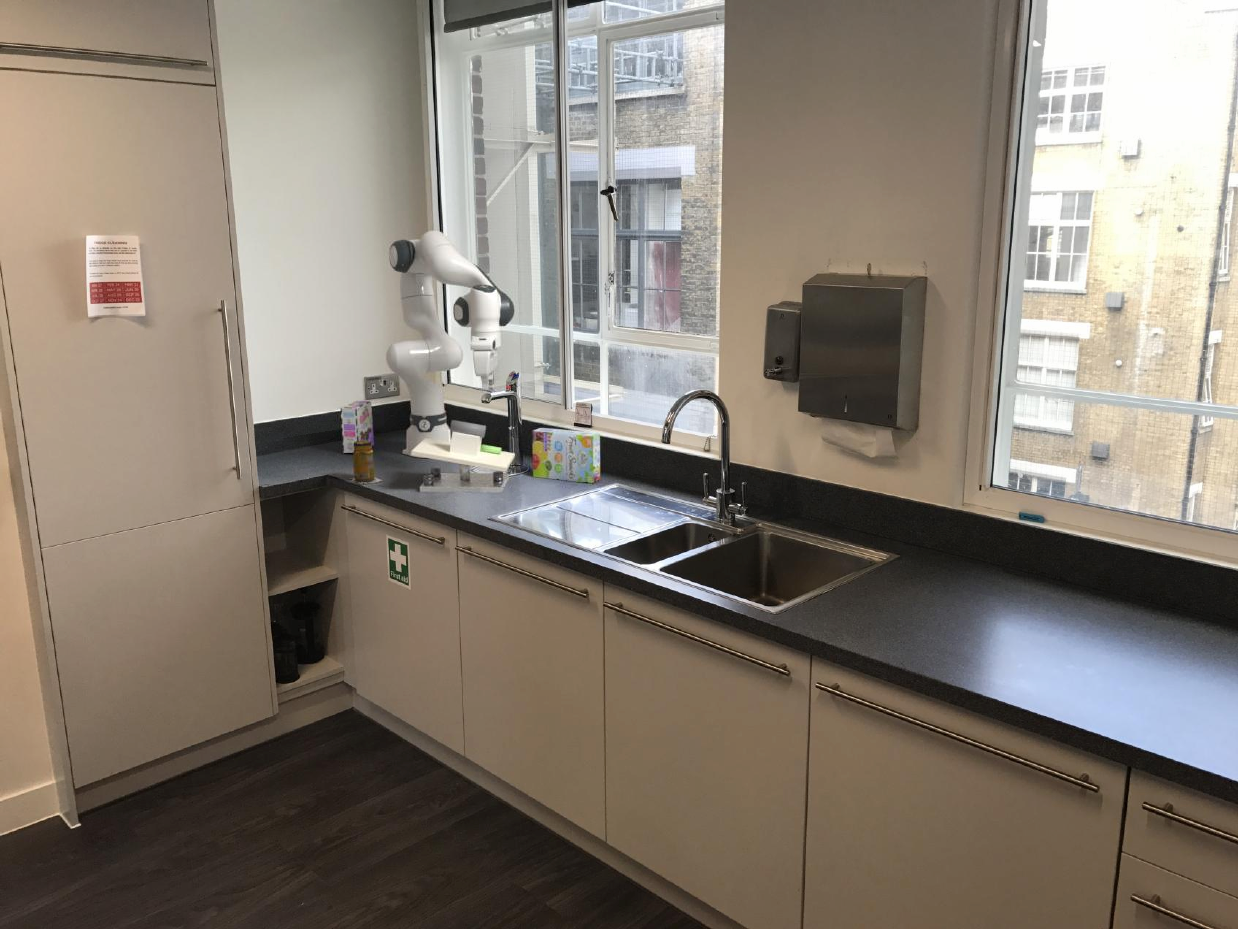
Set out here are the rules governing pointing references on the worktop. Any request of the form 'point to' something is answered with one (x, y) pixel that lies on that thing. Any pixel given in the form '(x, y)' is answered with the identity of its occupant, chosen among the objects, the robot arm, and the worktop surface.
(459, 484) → the bolted base plate
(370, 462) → the condiment
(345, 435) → the candy box
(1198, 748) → the worktop surface
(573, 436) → the snack box
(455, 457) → the plate
